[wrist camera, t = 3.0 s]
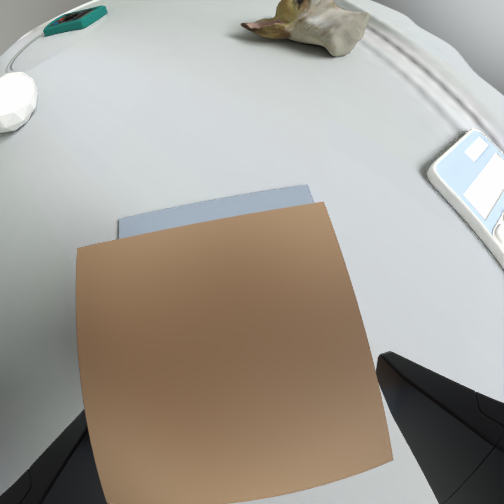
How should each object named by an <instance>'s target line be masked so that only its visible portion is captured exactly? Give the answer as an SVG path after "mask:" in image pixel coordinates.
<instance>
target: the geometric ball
mask: <svg viewBox="0 0 504 504" xmlns="http://www.w3.org/2000/svg"><path fill="white" fill-rule="evenodd" d="M37 94H38V90H37V88H36V85H35V83H34V80H33V78H31V77H30V76H28V75H26V74H24V73H23V72H14V73H8V74H6V75H4V76H2V77H1V78H0V132H1V133H3V132H9V131H15V130H17V129H18V128H19V127H21V126H22V125H23V124H25V123H26V122H28V120H29V118H30V116H31V115H32V113H33V111H34V109H35V107H36V101H37Z"/></svg>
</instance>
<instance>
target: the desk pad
mask: <svg viewBox="0 0 504 504" xmlns="http://www.w3.org/2000/svg"><path fill="white" fill-rule="evenodd" d="M311 203H314V201H313V198H312V195H311V192H310V190H309V187H308V185H301V186H294V187H287V188H280V189H274V190H267V191H261V192H255V193H249V194H243V195H237V196H231V197H226V198H220V199H215V200H209V201H204V202H199V203H193V204H188V205H183V206H178V207H173V208H168V209H163V210H159V211H154V212H149V213H145V214H140V215H136V216H131V217H127V218H122V219H119V239H121V238H126V237H131V236H136V235H140V234H145V233H150V232H155V231H160V230H165V229H170V228H175V227H180V226H185V225H190V224H195V223H201V222H206V221H211V220H217V219H222V218H228V217H233V216H239V215H245V214H250V213H256V212H262V211H268V210H274V209H280V208H286V207H292V206H299V205H305V204H311Z"/></svg>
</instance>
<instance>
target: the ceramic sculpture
mask: <svg viewBox="0 0 504 504" xmlns="http://www.w3.org/2000/svg"><path fill="white" fill-rule="evenodd" d="M368 20H369V14H368V13H362V12H351V11H346V10H342V9H340V8H339V7H337V6H336V5H335V3H334V0H281V1H280V3H279V4H278V6H277V9H276V15H275V17H274V18H271V19H261V20H258V21H256V22H254V23H241V26H242V27H244V28H246V29H248V30H249V31H251V32H253V33H255V34H258V35H260V36H262V37H265V38H271V39H282V38H288V39H290V40H293V41H296V42H301V43H306V44H316V45H320V46H324V47H325V48H326V49H327V50H328V51H329V53H330V54H331V55H333V56H336V57H337V56H345V55H347V54H349V53H350V51H351V50H352V49H353V47H354V46H355V45H356V43H357V42H358V41H359V40H360V39H361V38H362V37H363V35H364V32H365V29H366V26H367V22H368Z"/></svg>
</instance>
